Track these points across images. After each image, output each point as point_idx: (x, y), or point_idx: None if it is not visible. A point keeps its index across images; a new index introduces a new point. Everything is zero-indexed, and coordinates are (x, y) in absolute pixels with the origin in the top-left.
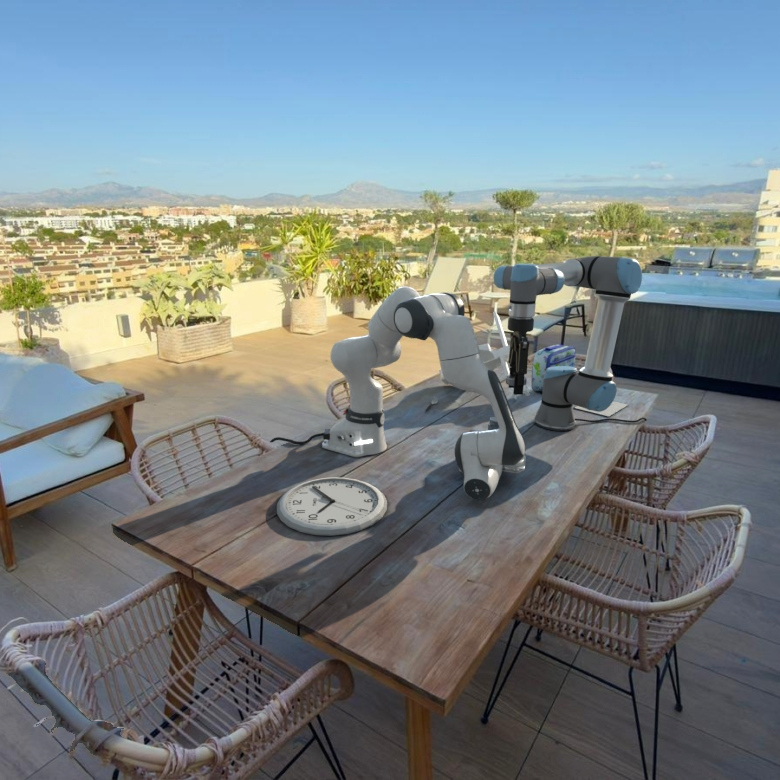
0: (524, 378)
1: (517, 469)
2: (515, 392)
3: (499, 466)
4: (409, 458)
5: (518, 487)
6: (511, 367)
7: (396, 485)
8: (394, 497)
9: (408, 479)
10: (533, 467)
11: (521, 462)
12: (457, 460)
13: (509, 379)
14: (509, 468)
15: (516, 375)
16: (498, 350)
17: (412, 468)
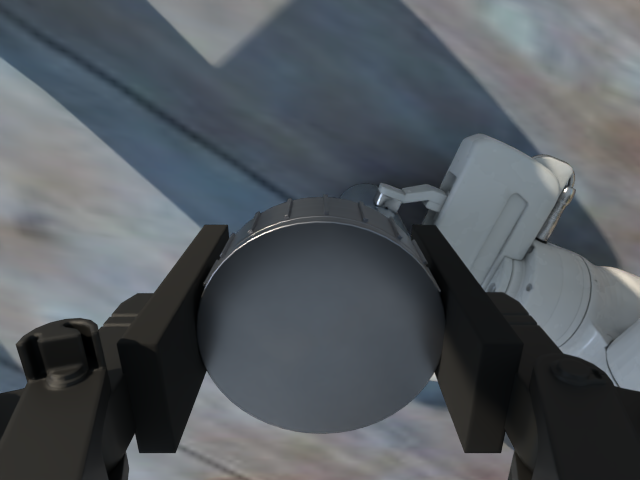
0: (372, 255)
1: (574, 193)
2: None
3: (593, 273)
4: (297, 432)
5: None
6: (135, 434)
7: (458, 464)
8: None
9: (428, 439)
10: (357, 57)
11: (554, 175)
12: None
13: (384, 414)
14: (557, 220)
15: (495, 425)
16: None
17: (362, 428)
